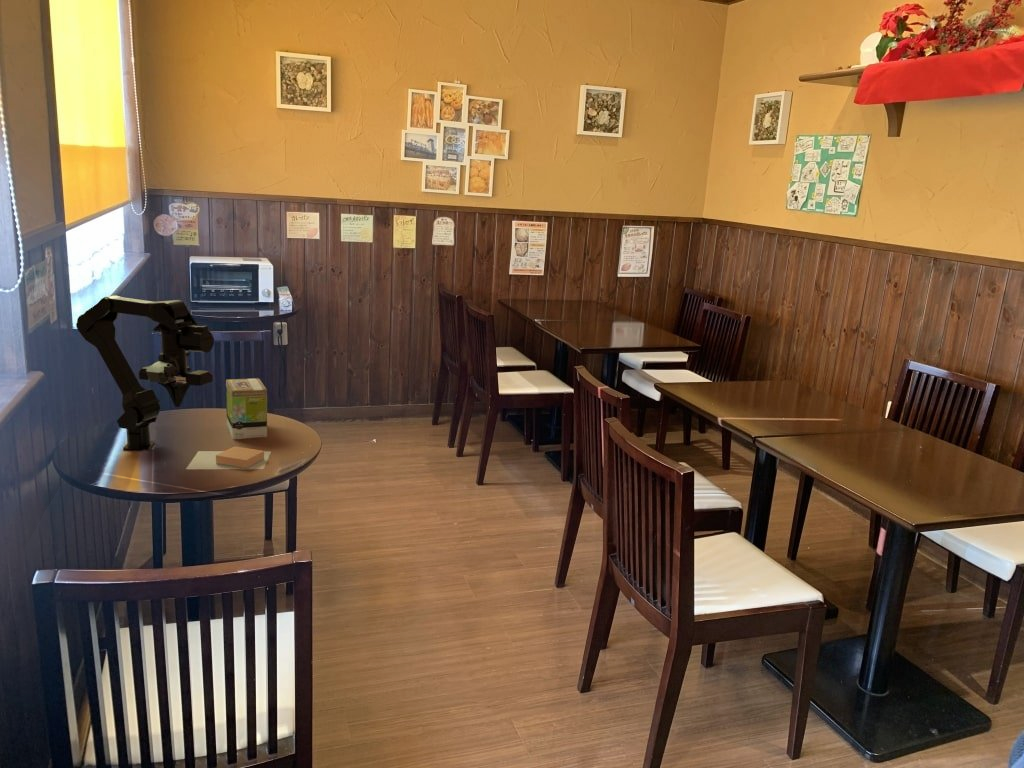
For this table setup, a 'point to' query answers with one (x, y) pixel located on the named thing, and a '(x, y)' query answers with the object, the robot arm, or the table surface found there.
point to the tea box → (246, 408)
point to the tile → (240, 457)
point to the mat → (209, 462)
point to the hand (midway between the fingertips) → (177, 406)
